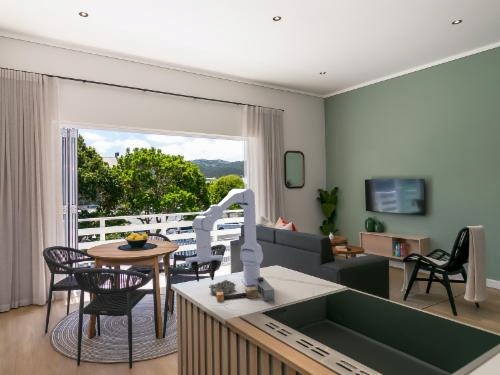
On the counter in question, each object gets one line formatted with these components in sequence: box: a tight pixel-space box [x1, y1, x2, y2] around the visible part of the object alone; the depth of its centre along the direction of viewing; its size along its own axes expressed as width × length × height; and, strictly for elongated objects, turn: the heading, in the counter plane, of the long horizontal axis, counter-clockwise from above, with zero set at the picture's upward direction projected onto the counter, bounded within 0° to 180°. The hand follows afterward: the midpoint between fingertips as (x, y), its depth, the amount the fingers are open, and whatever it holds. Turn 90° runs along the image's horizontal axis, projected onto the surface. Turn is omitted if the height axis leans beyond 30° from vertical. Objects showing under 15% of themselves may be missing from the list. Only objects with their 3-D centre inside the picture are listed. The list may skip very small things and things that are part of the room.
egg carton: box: [208, 279, 237, 296], centre depth 148 cm, size 11×8×4 cm
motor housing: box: [254, 276, 275, 302], centre depth 142 cm, size 16×4×5 cm, turn 13°
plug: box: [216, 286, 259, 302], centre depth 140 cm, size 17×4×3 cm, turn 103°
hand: (205, 280), depth 137 cm, fingers open, 5 cm apart
